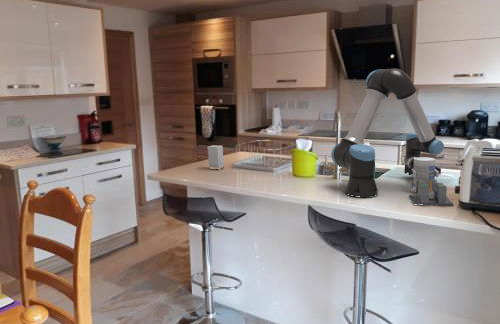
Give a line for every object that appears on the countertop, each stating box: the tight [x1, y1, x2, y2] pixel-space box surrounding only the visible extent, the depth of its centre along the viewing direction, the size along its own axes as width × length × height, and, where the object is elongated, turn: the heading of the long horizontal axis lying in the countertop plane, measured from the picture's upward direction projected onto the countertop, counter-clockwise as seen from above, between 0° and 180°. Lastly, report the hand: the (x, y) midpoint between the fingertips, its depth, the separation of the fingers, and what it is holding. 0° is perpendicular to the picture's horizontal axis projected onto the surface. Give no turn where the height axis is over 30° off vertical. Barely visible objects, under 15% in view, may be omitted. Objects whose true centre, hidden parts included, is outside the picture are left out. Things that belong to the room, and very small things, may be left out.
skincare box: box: [207, 144, 225, 168], centre depth 265 cm, size 8×7×16 cm
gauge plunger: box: [414, 179, 438, 199], centre depth 182 cm, size 10×9×8 cm
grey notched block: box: [408, 182, 454, 207], centre depth 178 cm, size 12×16×8 cm
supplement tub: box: [412, 156, 436, 190], centre depth 192 cm, size 10×10×15 cm
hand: (426, 174), depth 188 cm, fingers closed on supplement tub, 9 cm apart
